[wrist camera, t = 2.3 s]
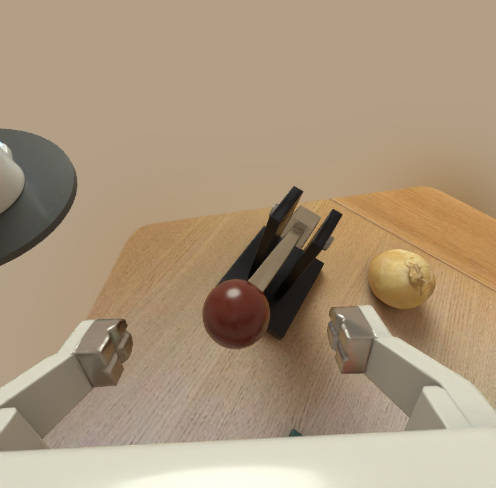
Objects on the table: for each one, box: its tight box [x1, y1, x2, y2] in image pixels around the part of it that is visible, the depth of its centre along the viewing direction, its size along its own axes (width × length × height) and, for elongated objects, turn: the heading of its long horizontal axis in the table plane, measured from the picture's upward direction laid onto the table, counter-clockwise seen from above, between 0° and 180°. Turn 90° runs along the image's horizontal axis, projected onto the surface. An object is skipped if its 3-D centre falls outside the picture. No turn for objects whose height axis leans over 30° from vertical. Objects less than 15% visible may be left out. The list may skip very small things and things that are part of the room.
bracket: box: [217, 186, 342, 340], centre depth 28 cm, size 12×10×15 cm
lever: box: [203, 206, 321, 349], centre depth 18 cm, size 15×4×4 cm, turn 147°
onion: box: [368, 249, 435, 309], centre depth 33 cm, size 8×8×7 cm
